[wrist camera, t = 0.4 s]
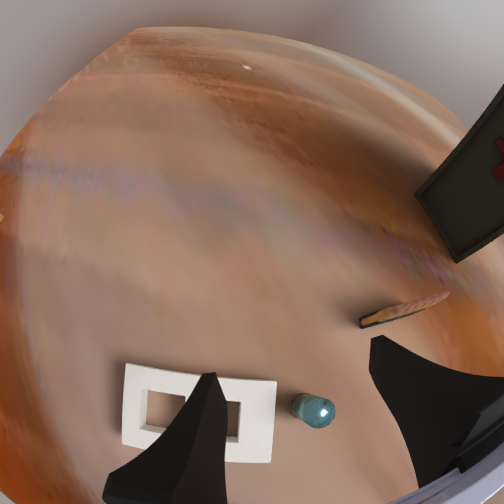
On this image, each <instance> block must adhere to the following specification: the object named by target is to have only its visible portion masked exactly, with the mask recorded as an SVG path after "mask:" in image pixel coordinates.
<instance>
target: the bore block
mask: <svg viewBox="0 0 504 504" xmlns="http://www.w3.org/2000/svg"><path fill="white" fill-rule="evenodd" d="M200 377H201V374H193V373H186V372H179V371H172V370H166V369H160V368H154V367H149V366H144V365H138V364H132V363H126V368H125V380H124V393H123V412H122V444H125V445H129V446H133V447H137V448H141V449H145V450H146V449H147V448H148V447H149V446H150V445H151V444H152V443H153V442H154V441H155V440H156V439H158V438H159V437H160V435H161V434H162V433H163V432H164V431H165V430H166V429H167V428H163V427H158V426H153V425H148V424H146V415H147V398H148V390H152V391H158V392H163V393H169V394H175V395H182V396H186V400H185V402H186V401H187V399H188V398H189V396H190V394H191V393H192V391H193V389H194V387H195V386H196V384H197V382H198V380H199V378H200ZM217 378H218V380H219V383H220V386H221V388H222V391H223V393H224V396H225V399H226V401H237V402H239V416H238V430H237V437H236V436H226V448H225V462H244V463H270V462H271V451H272V440H273V428H274V416H275V402H276V388H277V381H274V380H261V379H244V378H230V377H219V376H217Z"/></svg>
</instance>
